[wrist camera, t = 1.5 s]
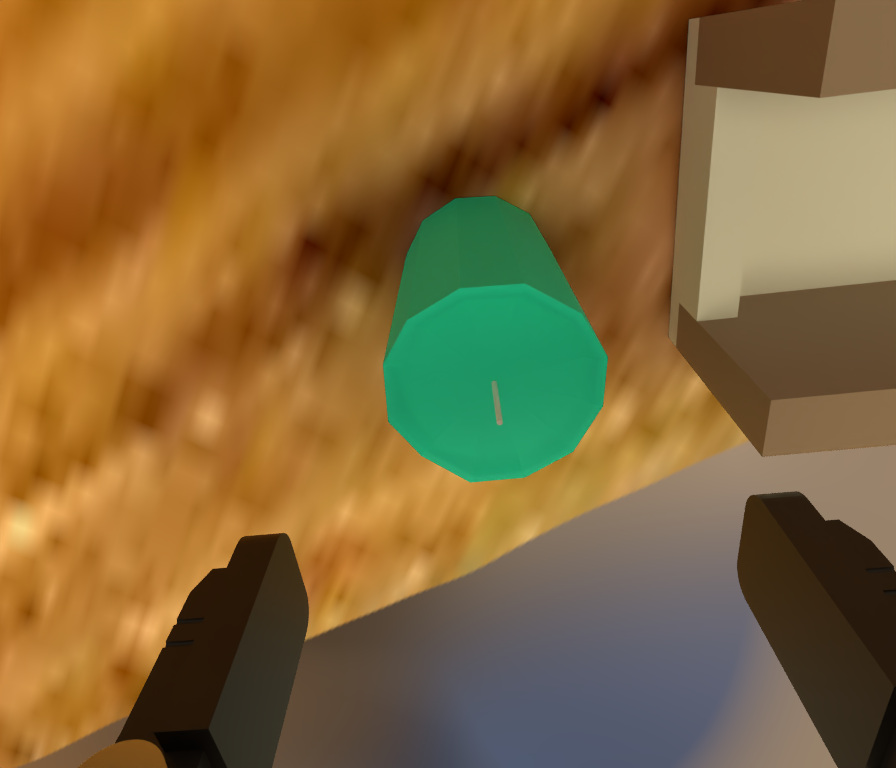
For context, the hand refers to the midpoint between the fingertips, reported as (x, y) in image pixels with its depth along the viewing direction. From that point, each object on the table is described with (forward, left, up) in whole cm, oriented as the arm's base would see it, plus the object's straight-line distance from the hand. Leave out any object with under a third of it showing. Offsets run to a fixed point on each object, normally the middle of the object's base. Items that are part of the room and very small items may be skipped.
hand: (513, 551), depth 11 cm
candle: (0, 0, -16) cm, 16 cm away
